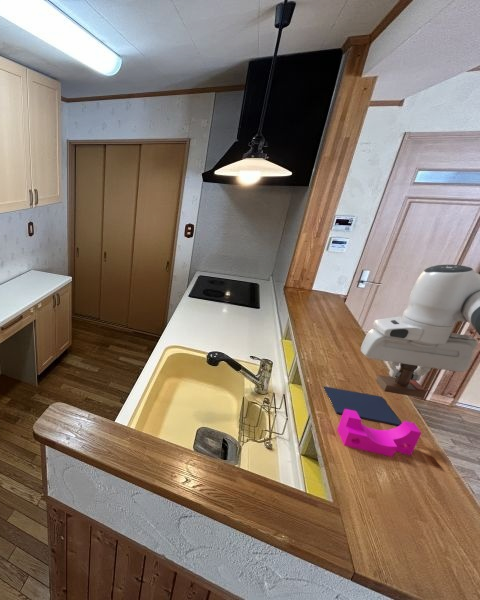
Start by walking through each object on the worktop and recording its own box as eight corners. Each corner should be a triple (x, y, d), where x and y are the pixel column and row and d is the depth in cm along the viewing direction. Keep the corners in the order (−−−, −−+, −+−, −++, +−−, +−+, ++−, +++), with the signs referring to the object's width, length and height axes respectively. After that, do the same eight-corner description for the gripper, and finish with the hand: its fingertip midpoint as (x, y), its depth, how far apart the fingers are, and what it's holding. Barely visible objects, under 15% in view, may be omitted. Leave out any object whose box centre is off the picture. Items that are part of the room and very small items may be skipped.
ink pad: (381, 398, 106) (381, 396, 106) (402, 426, 94) (403, 425, 93) (323, 387, 111) (323, 386, 111) (336, 413, 99) (337, 411, 99)
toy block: (344, 445, 87) (352, 423, 85) (337, 429, 93) (344, 408, 90) (415, 462, 82) (426, 439, 79) (403, 444, 87) (413, 422, 85)
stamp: (384, 391, 84) (396, 361, 81) (375, 380, 89) (386, 352, 85) (423, 398, 81) (437, 367, 78) (412, 387, 86) (425, 357, 83)
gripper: (470, 330, 78) (448, 379, 83) (367, 319, 85) (351, 364, 90) (490, 342, 73) (464, 393, 78) (378, 329, 79) (360, 376, 84)
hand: (403, 377), depth 84 cm, fingers closed on stamp, 2 cm apart
